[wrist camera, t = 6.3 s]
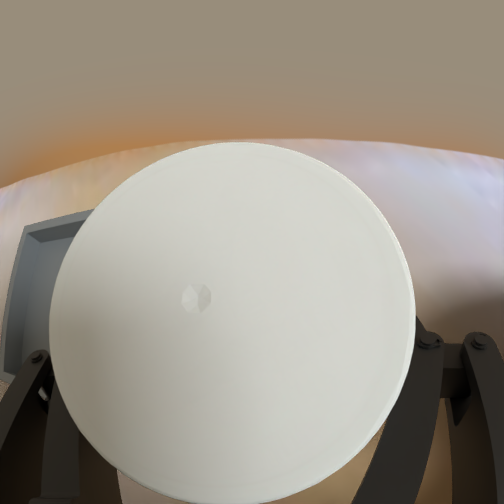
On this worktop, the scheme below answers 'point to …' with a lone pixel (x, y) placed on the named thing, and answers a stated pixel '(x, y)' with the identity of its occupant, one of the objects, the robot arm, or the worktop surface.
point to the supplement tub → (232, 324)
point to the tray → (34, 290)
